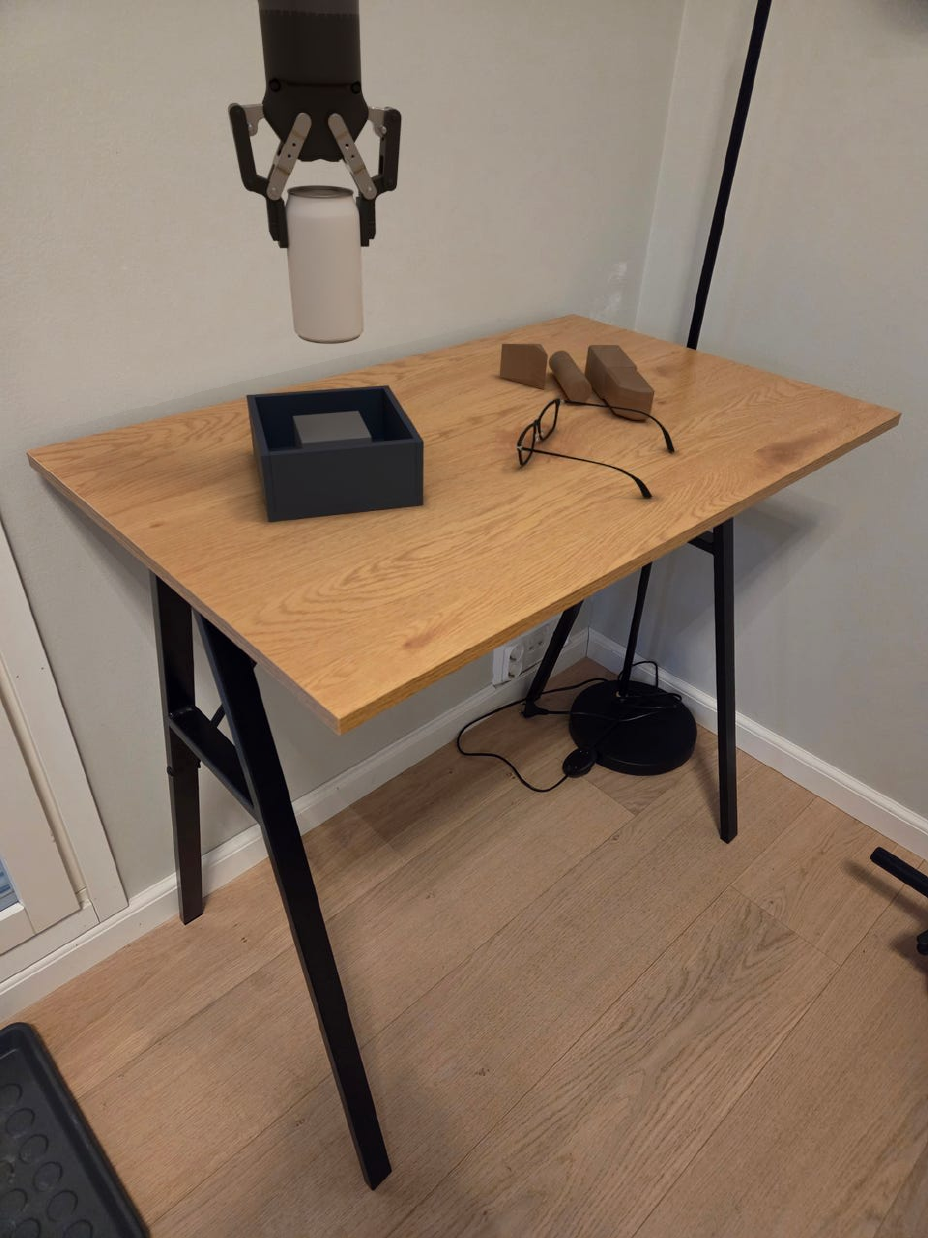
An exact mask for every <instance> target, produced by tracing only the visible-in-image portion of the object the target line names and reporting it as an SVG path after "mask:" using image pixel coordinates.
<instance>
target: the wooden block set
mask: <svg viewBox="0 0 928 1238" xmlns="http://www.w3.org/2000/svg"><path fill="white" fill-rule="evenodd" d="M500 351H501V352H500V366H499V378H500V379H504V380H506V381H507V380H508V381H512V382H515V383H518V384H523V385H526V386H530V387H533V388H537V389H540V390H545V386H546V377H547V376H546V375H547V369H548V368H547V367H549V369H550V371H551V372H552V374H553V375H554V377H555V378H556V380H557V381H558V383H559V385H560V387H561V388H562V389H563V391H564V393H565V394H566V396H567V398H568V400H569V401H575V402H583V403H586V402H587V401H588V400H589V398H590V396H592V394H593V393H592V392H593V390H594V392H595V393H596V394H597V396H598V397H599V399H602V400H605V401H606V403H607V404H608V406H613V407H621V408H627V409H633V410H637V411H641V412H644V413H646V414H648V415H650V416H651V413H652V407H653V402H654V397H655V392H656V391H655V390H654V388H653V387H652V386H651V385H650V384H649V382H647V380H646V379H645V378H644V377H643V376H642V374H641V373H640V372H639V371H638V366H637V365H636V363H635V362H634V361H633V360H632V359H631V358H630V357H629V355H628V354H627V353H626V352H625V351H624V350H623V348H622V347H621V346H620V345H617V344H590V345H588V347H587V353H586V360H585V368H584V373H583V371H582V370H581V368H580V367H579V366H578V365H577V363H576V362H575V360H574V359H573V357H572V356H571V355H570V353H569V352H568V351H565V350H557V351H555V352H554V353H553V354H551V356H550V357H549V355H548V353H547V351H546V350H545V348H544V347H543V345H542V343H501V349H500ZM548 358H549V360H548ZM611 410H612V411H613V412H614V413H615V415H618V416H621V417H624V418H628V419H630V420H633V421H639V420H640V421H642V420H645V421H646V420H648V419H649V418H650V417H648V416H646V415H644V414H641V413H638V412H634V411H629V410H622V409H614V408H611Z"/></svg>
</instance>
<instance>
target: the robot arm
mask: <svg viewBox="0 0 928 1238" xmlns="http://www.w3.org/2000/svg"><path fill="white" fill-rule="evenodd" d="M256 1H257V4H258V15H259V16H258V17H259V25H260V36H261V37H260V38H261V48H262V57H263V69H264V79H265V80H264V82H265V92H264V95H263V98H262V100H261V103H252V104H239V103H238V102H232V103H230V104H229V105H228V107H227V114H228V119H229V124H230V129H231V134H232V139H233V144H234V149H235V150H234V151H235V154H236V160H237V165H238V169H239V174H240V179H241V182H242V185H243V187H244V189H246V191H248V192H252V193H255V194H258V195H261V196H262V197H263V198H264V200H265V206H266V217H267V227H268V233H269V235H270V237H271V239H272V241H273V242H277V245H278V247H279V249H287V248H288V236H287V225H286V213H285V205H286V202H285V199H284V198H283V196H282V195H283V193H284V190H285V187H286V184H287V182H288V180H289V177H290V176H291V174H292V173H293V170H294V168H295V166H296V163H297V160H298V161H300V162H301V163H313V162H315V161H319V160H322V161H326V162H329V163H340V161H342V163H343V164H344V167H345V168H346V170H347V171H348V173H349V175H350V176H351V179H352V181H353V183H354V185H355V187H356V189H357V193H358V194H357V195H358V196H355V203H356V205H357V208H358V210H359V218H360V240H361V248H365V247H366V248H369V247H370V240H375V238H376V235H377V221H376V220H377V216H376V214H377V213H376V201H377V199H378V197H379V196H380V195H382V194H385V193H387V192H393V191H395V190H396V189H397V187H398V178H399V165H400V163H399V162H400V148H401V135H402V134H401V133H402V122H403V121H402V120H403V117H402V113H401V111H399V110H398V109H396V108H395V107H392V106H385V107H379V106H370V105H368V104H367V101H366V99H365V96H364V93H363V86H362V85H363V83H362V57H361V55H362V54H361V51H362V50H361V26H360V25H361V22H360V0H256ZM262 119H264V120H265V121H266V122H267V124H268V125H269V127H270V128H271V130H272V131H273V132H274V134H275V135H276V137H277V138H278V139H279V143H278V144H277V145H278V146H277V147H276V151H275V153H274V155H273V159H272V164H271V166H270V168H269V171H268V174H267V176H266V177H265V176H262V175H260V174H258V173H257V167H256V163H255V162H256V161H255V157H254V151H253V146H252V141H251V137H255V136H256V135H257V134H258V131H259V123H260V121H261V120H262ZM368 121H369V122H370V123H371V125H372V131H373V133H374V135H375V136H376V137H378V138H379V148H378V165H377V174H376V175H373V176H371V175H370V173H369V171H368V169H367V166H366V164H365V162H364V160H363V158H362V156H361V154H360V152H359V149H358V148H357V145H356V144H355V143H356V141H357V140H358V138H359V136H360V135H361V133H362V131H363V129H364V128H365V126H366V124H367V122H368Z"/></svg>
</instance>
